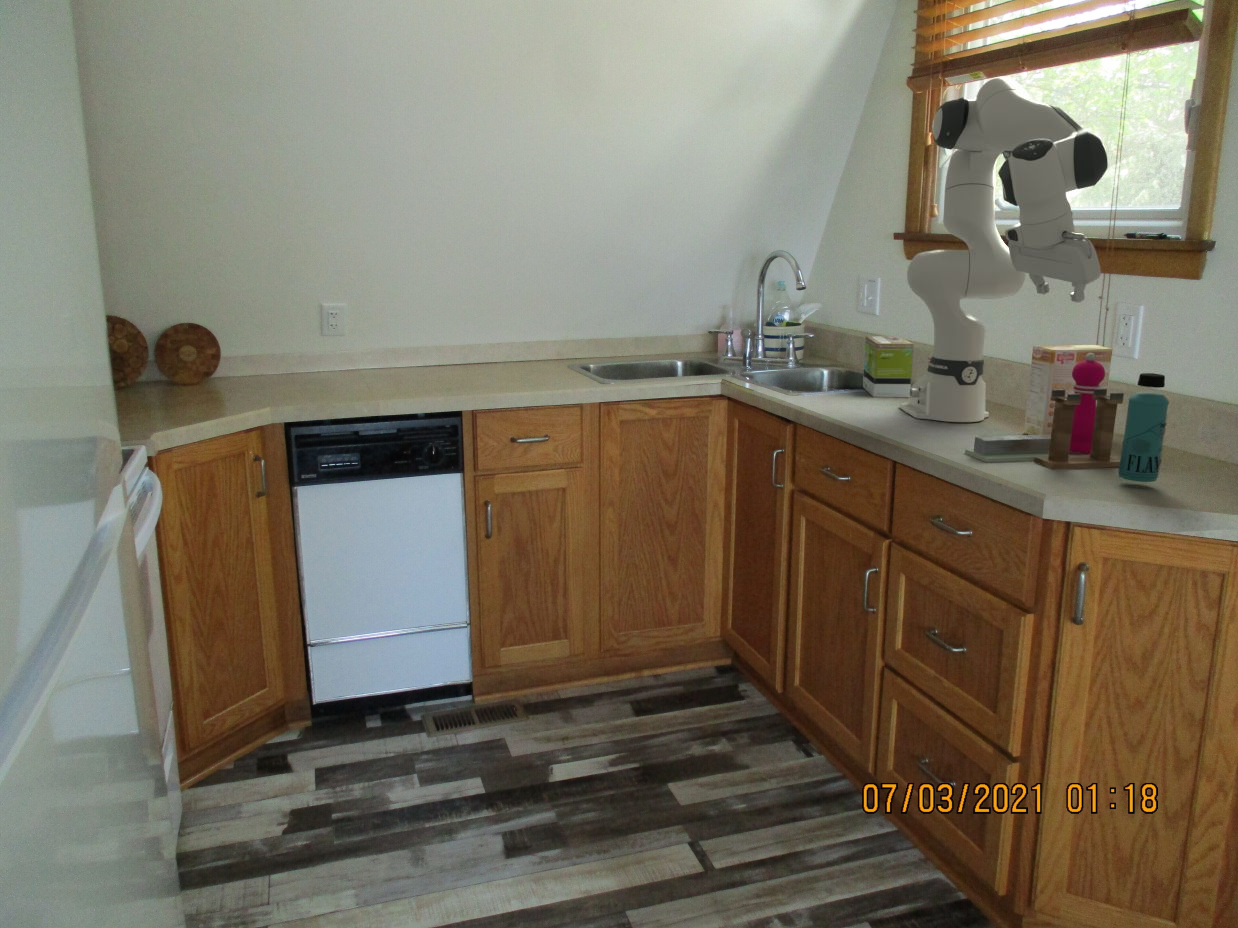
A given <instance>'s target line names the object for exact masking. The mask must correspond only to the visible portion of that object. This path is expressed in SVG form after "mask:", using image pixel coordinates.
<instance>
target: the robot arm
mask: <svg viewBox="0 0 1238 928" xmlns="http://www.w3.org/2000/svg"><path fill="white" fill-rule="evenodd" d="M975 96H976V97H975V98H974V99H973V98H972V99H971V98H970V99H969V98H968V99H967V98H964V97H960V98H957V99H952V100H949V101H948V100H947V101H944V103H942V104H941V105H940V106H939V107H938V109H937V111H936V112H935V115H934V118H933V121H932V134H933V141H934V142H935V144H936V145H937V146H938V147H940V148H943V149H946V150H953V149H954V151H953V152H952V154H951V156H950V159H949V163H948V167H947V171H946V175H945V176H946V177H945V184H944V198H943V199H944V201H943V218H942V221H943V225H944V228H945V229H946V231H948V233H950V234H951V235H953V236H954V237H956V238H958V239H960V240H961V241H963V242H964V243H965V244H966V245H967V247H968V249H934V250H927V251H922V252H918V253H917V254H915V256H913V257H912V259H911V261H910V263H909V264H908V267H907V272H906V279H907V283H908V285H909V288H910V290H911V291H912V292H913V293H914V294H915V295H916V296H918V297H919V299H921V300H922V301H923V302H924V304H925V305H926V306H927V308H928V311H929V313H930V314H931V317H932V322H933V336H934V337H933V353H932V356H931V357H928V358H927V360H929V361H927V364H928V367H927V368H926V369H927V370H926V371H927V372H926V373H924V375H923V376H922V377H920V378H919V379H918V380H917V381H915V383H913V384H912V385H911V388H910V392H909V394H910V397H909V401H908V402H902V403H899V406H898V408H899V409H901V410H902V411H904V412H905V413H907V414H909V416H910V415H911V416H912V417H913V418H915V419H923V420H931V421H932V420H933V421H938V422H939V421H940V422H948V423H949V422H950V423H951V422H952V423H973V422H974V423H975V422H981V421H983V420H984V419H985V418H988V417H989V414H990V413H989V411H986V383H985V381H984V380H983V378H982V375H983V374H984V369H985V364H984V363H985V360H984V359H983V355H984V347H985V346H984V345H985V339H986V338H985V335H986V329H985V325H984V323H983V322H982V320H980V319H979V318H977V316H974V315H972V314H971V313H969V312H967V311H965V310H963V309H962V307H961V303H960V300H963V299H969V300H970V299H975V300H977V299H978V300H980V299H981V300H994V299H995V300H996V299H1004V298H1009V297H1013V296H1015V295H1016V294H1017V293H1018V292H1019V291H1020V290H1021V289H1022V287H1023V285H1024V283H1025V280H1026V274H1029V275H1028V276H1029V279H1030V280H1031V282H1032V284H1033V285H1034V286H1035V289H1036V293H1037V294H1040V295H1046V294H1048V293H1049V292H1050V285H1049V282H1046V281H1045V279H1044V277H1045V278H1048V279H1054V280H1058V281H1059V280H1060V281H1064V282H1067V283H1071V286H1072V288H1074V289H1073V292H1071V293H1069V295H1070V298H1071V299H1070V300H1071V301H1072V302H1075V303H1081V302H1083V301H1085V298H1086V297H1085V290H1086V286H1087V285H1089V284H1091V283H1093V282H1094V281H1096V280H1098V279H1099V278H1100V277H1101V275H1102V269H1101V265H1100V262H1099V258H1098V255H1097V251H1096V248H1095V246H1094V245H1093V243H1092V242H1091V240H1089V239H1088V238H1087V237H1086V236H1085V235H1084V234H1083V233H1076V229H1075V225H1074V220H1073V219H1074V218H1073V213H1072V207H1071V204H1070V203H1069V201H1068V199H1067V193H1068V192H1071V191H1075V190H1080V189H1085V188H1089V187H1094V186H1096V184H1098V183H1099V181H1100V180H1101V179H1102V178H1103V176H1104V175H1105V174H1106V172H1107V170H1108V165H1109V163H1108V153H1107V149H1106V147H1105V145H1104V144H1103V142H1102V140H1101V138H1100V137H1099V136H1098V135H1096V134H1094V133H1093V132H1091V131H1089V130H1086V129H1085V128H1083V127H1082V126H1081V125H1080V124H1079V123H1077V122H1076V121H1075V120H1074V119H1073V118H1072V117H1071V116H1070V115H1069V114H1068V113H1066V112H1065V111H1064V110H1063V109H1062V108H1060V107H1059V106H1058V105H1054V104H1050V103H1043V102H1039V101H1038V100H1037V101H1036V100H1034V99H1031V97H1030V95H1029V94H1028V93H1027V91H1026V90H1025V89H1024V88H1023V87H1022V86H1021V85H1020V84H1019V83H1018V82H1017V81H1016V80H1014V79H1012V78H1010V77H1006V76H997V77H994V78H991V79H990V80H987V81H986V82H984V83H983V85H982V86H981V87H980V88H979V89H978V91H977V93H976V95H975ZM1001 155H1002V157H1003V158H1004V160H1005V161H1003V163H1002V165H1000V169H999V170H998V172H997V173H998V178H999V179H1000V181H1001V186H1002V194H1003V195H1002V196H1003V198H1002V199H1003V201H1005V202H1006V203H1009V205H1013V206H1015V207H1018V209H1019V216H1018V217H1019V218H1018V220H1019V222H1018V223H1016V224H1014V225H1012V226H1010V227H1008V228H1007V229H1005V230H1004V235H1005V238H1006V239H1007V241H1008V244H1006V243H1005V242H1004V241H1003V239H1002V238H1001V234H1000V233H999V230H998V228H997V224H996V211H995V210H996V209H995V206H996V204H995V203H996V202H995V200H996V198H995V197H996V165H997V161H998V158H1000V156H1001Z"/></svg>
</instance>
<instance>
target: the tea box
mask: <svg viewBox="0 0 1238 928" xmlns="http://www.w3.org/2000/svg"><path fill="white" fill-rule="evenodd" d="M864 345H865V346H864V363H863V375H862V376H863V377H862V378H863V379H862V388H864V389H865V390H866V391H867V392H868V393H869V394H870V395H871V396H872V397H873V398H910V394H909V392H910V389H911V388H912V373H913V372H912V371H913V359H914V358H913V357H914V343H913V342H910V341H909V340H907V339H905V338H903V337H902V336H890V335H889V336H888V335H885V336H884V335H883V336H880V335H879V336H874V335H873V336H865V342H864Z"/></svg>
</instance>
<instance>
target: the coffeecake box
mask: <svg viewBox="0 0 1238 928" xmlns="http://www.w3.org/2000/svg"><path fill="white" fill-rule="evenodd" d="M1113 350H1114V349H1113V348H1111V347H1105V346H1102V345H1098V344H1081V345H1079V344H1078V345H1077V344H1075V345H1074V344H1072V345H1068V344H1067V345H1034V346H1032V353H1031V364H1030V372H1029V373H1030V374H1029V382H1028V383H1029V385H1028V393H1027V398H1026V399H1027V401H1026V409H1025V410H1026V411H1025V418H1024V426H1023V427H1024V428H1023V434H1024V435H1027V434H1028V435H1050V436H1051V432H1052V424H1053V416H1054V408H1055V401H1052V400H1051V395H1052V390H1065V396H1066V397H1067V396H1068V394H1075V391H1073V389H1074V386H1073V385H1074V384H1076V383H1075V380H1074V379H1073V377H1072V371H1073V368H1074V367H1075V365H1076V364H1078V363H1079V362H1081V361H1087V360H1086V355H1087V354H1088V353H1093V354H1095V360H1094V361H1096V362H1098V363H1100V364H1101V365H1102V366H1103V367H1104V369H1105V377H1104V379H1103V381H1102V382H1101V383H1100V384H1099V386H1101V388H1099V389H1107V390H1108V386H1109V379H1110V371H1111V363H1112V356H1113V355H1112V354H1113ZM1106 395H1108V393H1107V394H1106ZM1096 406H1097V400H1096Z"/></svg>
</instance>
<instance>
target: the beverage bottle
mask: <svg viewBox="0 0 1238 928" xmlns="http://www.w3.org/2000/svg"><path fill="white" fill-rule="evenodd" d="M1165 377H1166V376H1165V375H1164V374H1162V373H1152V372H1151V373H1150V372H1148V373H1147V372H1146V373H1145V372H1144V373H1140V374H1139V377H1138V380H1137V386H1140V387H1145V388H1155V389H1156V388H1157V389H1158V388H1165V385H1166V384H1165V380H1166V378H1165ZM1169 404H1170V400H1169V399H1168V397H1166V395H1164V394H1163V393H1160V392H1154V391H1137V392H1135V393H1134V394H1132V395H1131V396H1129V397H1128V405H1127V413H1126V420H1125V428H1124V435H1123V441H1122V445H1121V451H1120V458H1119V459H1118V460H1119V461H1120V464H1119V467H1118V471H1117V472H1118V477H1120V479H1124V480H1126V481H1131V482H1132V481H1133V482H1139V483H1140V482H1141V483H1152V482H1156V481H1157V479H1158V478H1159V473H1160V470H1161V464H1162V463H1161V462H1162V460H1161V458H1163V457H1162V456H1163V455H1162V454H1163V453H1162V452H1163V448H1164V445H1163V443H1164V438H1165V434H1166V428H1167V427H1166V426H1167V418H1168V407H1169Z"/></svg>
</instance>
